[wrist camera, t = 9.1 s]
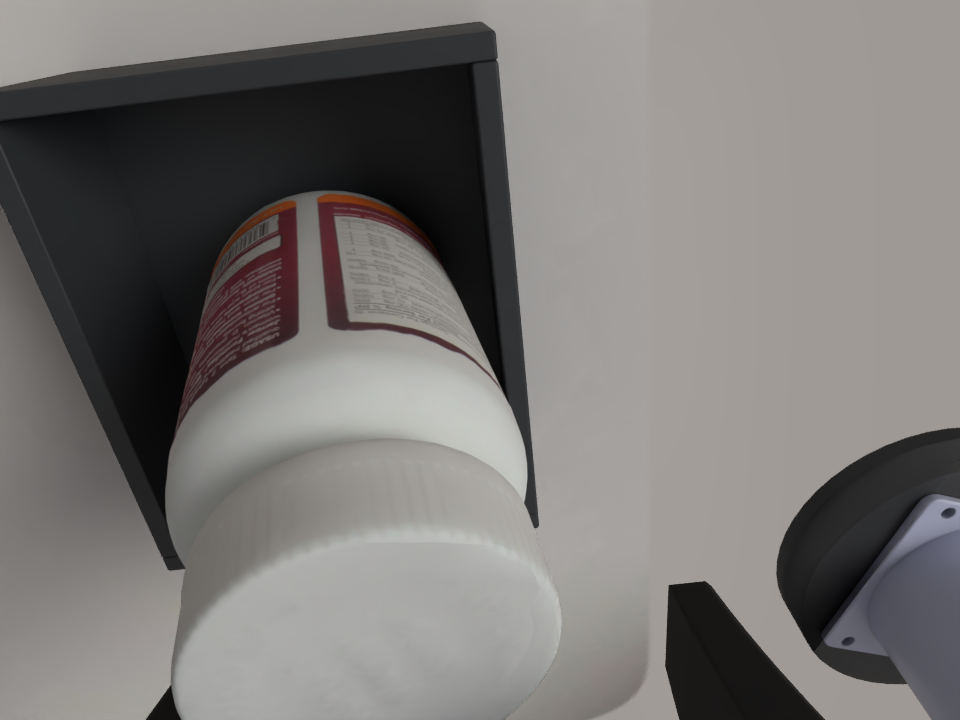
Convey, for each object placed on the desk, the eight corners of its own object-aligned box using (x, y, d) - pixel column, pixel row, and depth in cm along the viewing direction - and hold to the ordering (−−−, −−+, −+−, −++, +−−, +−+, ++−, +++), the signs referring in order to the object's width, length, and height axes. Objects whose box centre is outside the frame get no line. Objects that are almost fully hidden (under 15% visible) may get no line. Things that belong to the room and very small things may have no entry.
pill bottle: (241, 405, 19) (194, 847, 10) (182, 196, 16) (28, 570, 7) (452, 371, 20) (587, 742, 11) (438, 169, 17) (614, 457, 8)
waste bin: (521, 432, 22) (539, 528, 18) (217, 467, 22) (167, 571, 18) (482, 21, 16) (495, 30, 12) (70, 72, 16) (-50, 97, 12)
